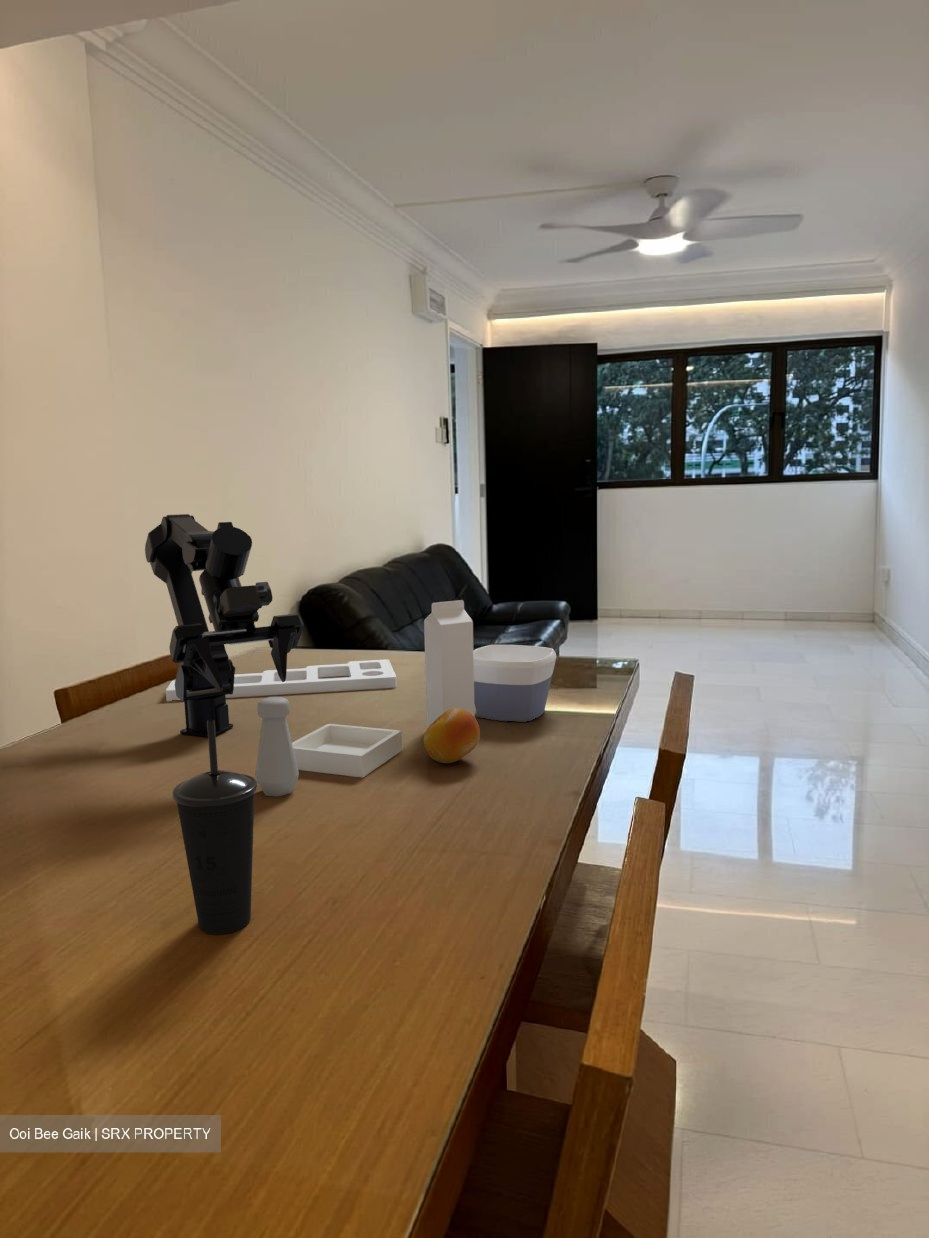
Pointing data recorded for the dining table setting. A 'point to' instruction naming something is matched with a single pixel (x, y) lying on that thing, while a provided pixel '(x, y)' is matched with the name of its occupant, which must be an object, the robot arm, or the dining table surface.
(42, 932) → the dining table surface
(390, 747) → the dish
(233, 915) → the drinking cup
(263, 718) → the salt shaker
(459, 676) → the milk
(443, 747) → the fruit
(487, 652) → the bowl
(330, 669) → the holder
